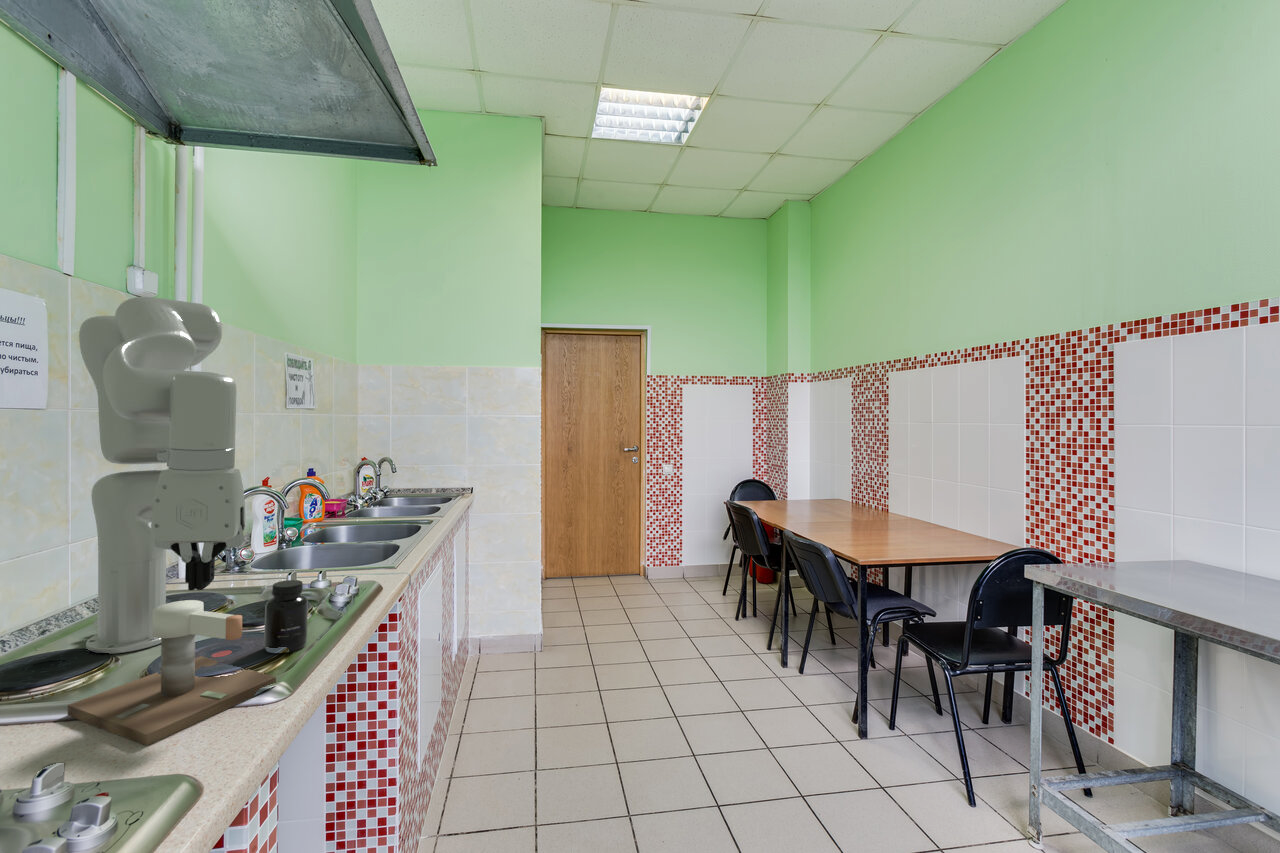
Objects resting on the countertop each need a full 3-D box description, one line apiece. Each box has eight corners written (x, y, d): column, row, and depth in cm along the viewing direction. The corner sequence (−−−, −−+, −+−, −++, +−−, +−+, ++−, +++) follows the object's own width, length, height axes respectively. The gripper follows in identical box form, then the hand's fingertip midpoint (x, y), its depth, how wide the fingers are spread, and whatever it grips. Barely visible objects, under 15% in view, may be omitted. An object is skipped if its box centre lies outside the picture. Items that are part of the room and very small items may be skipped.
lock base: (67, 715, 83) (67, 643, 82) (201, 664, 100) (202, 604, 99) (146, 745, 76) (147, 668, 76) (275, 686, 93) (276, 622, 93)
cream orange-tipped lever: (141, 635, 85) (142, 611, 85) (181, 621, 91) (181, 598, 91) (220, 647, 82) (221, 621, 82) (256, 631, 88) (257, 608, 88)
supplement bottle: (287, 657, 104) (288, 590, 103) (254, 652, 105) (255, 587, 105) (315, 642, 110) (316, 579, 110) (285, 638, 112) (286, 576, 111)
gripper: (123, 462, 77) (121, 598, 78) (253, 465, 81) (249, 594, 82) (153, 455, 84) (151, 580, 85) (271, 458, 88) (267, 577, 89)
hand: (199, 586), depth 83 cm, fingers closed
